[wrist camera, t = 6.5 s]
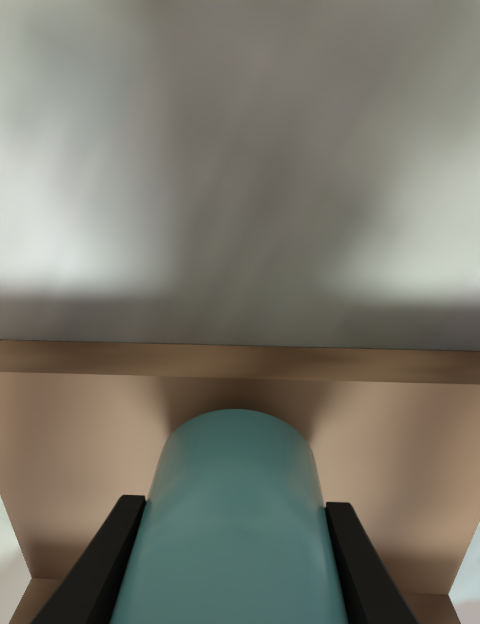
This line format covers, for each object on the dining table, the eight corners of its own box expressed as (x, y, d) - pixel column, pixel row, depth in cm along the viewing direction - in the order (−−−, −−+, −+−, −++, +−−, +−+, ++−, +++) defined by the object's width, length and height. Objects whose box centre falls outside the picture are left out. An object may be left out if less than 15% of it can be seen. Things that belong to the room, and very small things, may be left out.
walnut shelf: (496, 352, 13) (631, 465, 8) (421, 563, 18) (480, 706, 13) (-6, 339, 13) (-141, 441, 9) (59, 549, 18) (-5, 683, 14)
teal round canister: (322, 409, 10) (400, 694, 5) (310, 526, 12) (357, 820, 7) (150, 407, 11) (43, 681, 5) (166, 523, 13) (101, 808, 7)
